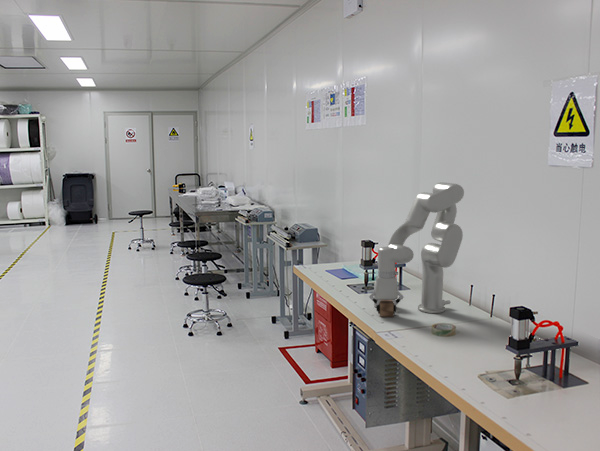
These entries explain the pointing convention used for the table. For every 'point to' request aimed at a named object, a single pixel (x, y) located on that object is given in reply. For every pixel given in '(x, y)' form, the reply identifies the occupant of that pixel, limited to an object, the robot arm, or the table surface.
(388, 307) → the walnut block
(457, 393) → the table surface
